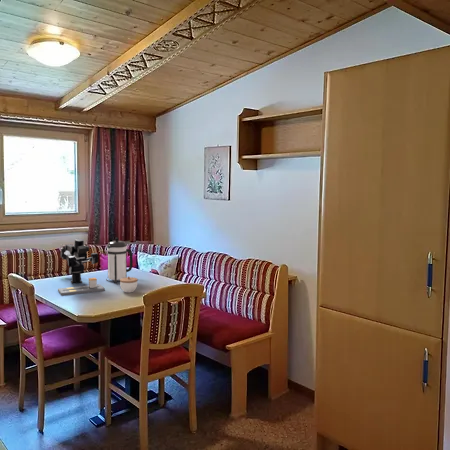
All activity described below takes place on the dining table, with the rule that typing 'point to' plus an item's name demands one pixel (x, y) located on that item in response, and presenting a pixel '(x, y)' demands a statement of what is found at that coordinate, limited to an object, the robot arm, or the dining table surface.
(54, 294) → the dining table surface
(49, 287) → the dining table surface
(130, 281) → the lidded jar
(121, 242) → the coffee press
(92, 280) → the block
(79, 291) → the console board
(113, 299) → the dining table surface
